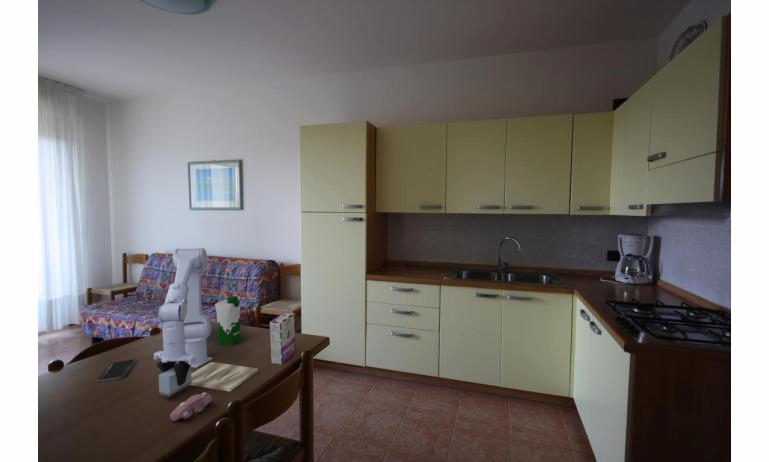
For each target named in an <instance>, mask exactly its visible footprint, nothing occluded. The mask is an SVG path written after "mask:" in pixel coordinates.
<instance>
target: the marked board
mask: <svg viewBox="0 0 769 462" xmlns="http://www.w3.org/2000/svg"><path fill="white" fill-rule="evenodd" d="M256 373H258V367H251V366H250V367H249V366H243V365H236V364H230V363H229V364H227V363H221V362H216V361H215V362H214V361H210V362H209V363H208V364H205V365H204V366H202V367H200V368H198V369H197V370H195V371H194V372H191V379H192V383H191V384H189V385H188V386H194V387H195V386H196V387H200V388H201V387H202V388H207V389H213V390H218V391H225V392H231V391H233V390H234V389H236V388H237V387H238V386H239V385H241V384H242V383H243V382H245V381H247V380H248V379H249V378H251V377H252V376H253V375H254V374H256Z"/></svg>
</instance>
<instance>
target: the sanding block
mask: <svg viewBox="0 0 769 462" xmlns="http://www.w3.org/2000/svg"><path fill="white" fill-rule="evenodd" d="M191 373H192V367H191V366H190V368H189V371H188V373H187V377H186V381H185V383H184V384H182V385H181V386H178V383H177V376H176V373H175V370H174V368H172V369H170V370H168V371H166V372H164V373H162V372H161V373H160V374H159V375H158V390H159V391H158V392H159V393H158V394H159V395H160V396H165V397H171V396H173V395H174V394H176V393H178V392H179V391H181V390H183V389H184V388H186V387H188V386H190V385H189V384H191V383H192V379H191Z"/></svg>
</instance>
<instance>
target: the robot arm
mask: <svg viewBox="0 0 769 462" xmlns="http://www.w3.org/2000/svg"><path fill="white" fill-rule="evenodd" d="M207 255H208V254H207V251H206V248H203V247H201V248H176V249H175V250H173V254H172V262H173V265H174V266H175V268H176V272H175V277H174V282H173V283H171V284H170V285H169V287H168V291H167V294H166V297H165V301H164V303H163V304H162V305H160V306H159V307H158V315H157V317H158V321H159V325H160V326H159V327H160V329H162V349H163V350H158V351H156V352H154V353H153V360H159V359H160V361H159V362H157V363H156V367H157V368H158V369H159V370H160V372H161V374H162V373H164V372H166V371H168V370H170V369H172V368H174V370H175V373H176V376H177V383H178V386H181V385H182V384H184V383H185V381H186V377H187V373H188V371H189V368H190V366H191V368H193V369H194V368H199V367H200V366H203V365H204V364H206V363H207V362H209V361H210V362H211V361H212V360H213V357H211V356H208V349H207V348H208V347H207V345H208V344H207V343H208V342H207V339H208V338H209V337H210V336H211V332H212V330H211V329H212V324H211V318H210V317H209V316H208V315H207V314H205V313H204V312H202V272H203V270H206V269H207V266H208V265H207V264H208V261H207V260H208V258H207V257H208V256H207ZM186 303H187V304H186ZM186 308H187V315H186ZM190 322H191V323H190ZM176 362H177V363H176Z"/></svg>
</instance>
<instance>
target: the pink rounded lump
mask: <svg viewBox="0 0 769 462" xmlns="http://www.w3.org/2000/svg"><path fill="white" fill-rule="evenodd" d="M212 400H213V397H212V394H210V393H207V392H206V391H204V392H202V393H198V394H195V395H191V396H190V397H188V399H186V400H185V401H182V402H181V403H180V404H178V405H177V406H176V408H175V409H174V410H173V411H172V412H170V417H169V418H170V420H171V421H172V422H176V421H178V420H180V419H184V420H187V419H189V418H191V416H192V415H193V411H192V410H194V412H195V414H199V413H201V412H202V411H203V410H204V408H205V407H207V406H208V405H209V403H211V401H212Z"/></svg>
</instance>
